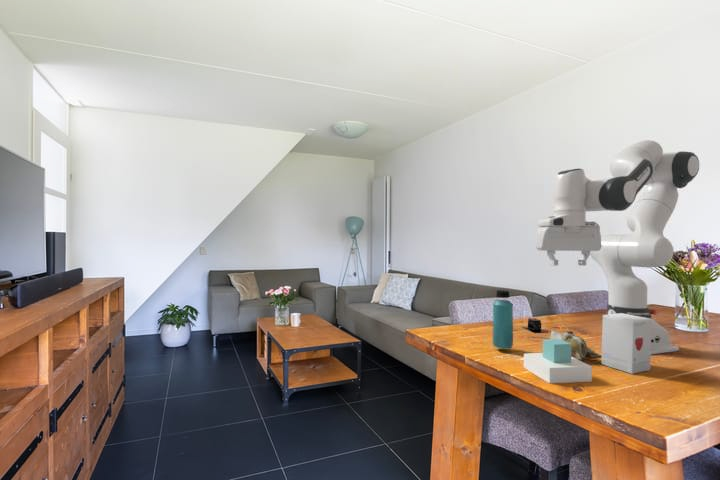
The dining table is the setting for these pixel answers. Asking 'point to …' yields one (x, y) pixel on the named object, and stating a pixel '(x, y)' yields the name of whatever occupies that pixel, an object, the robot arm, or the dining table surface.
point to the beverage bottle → (502, 321)
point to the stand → (557, 369)
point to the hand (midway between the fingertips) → (568, 265)
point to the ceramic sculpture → (576, 345)
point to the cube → (556, 350)
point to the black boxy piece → (534, 326)
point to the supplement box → (626, 342)
